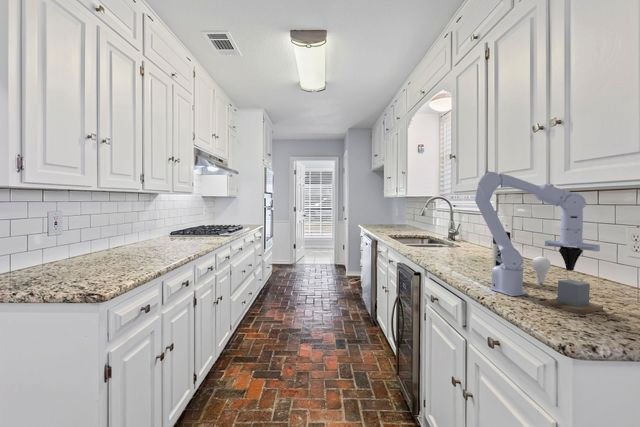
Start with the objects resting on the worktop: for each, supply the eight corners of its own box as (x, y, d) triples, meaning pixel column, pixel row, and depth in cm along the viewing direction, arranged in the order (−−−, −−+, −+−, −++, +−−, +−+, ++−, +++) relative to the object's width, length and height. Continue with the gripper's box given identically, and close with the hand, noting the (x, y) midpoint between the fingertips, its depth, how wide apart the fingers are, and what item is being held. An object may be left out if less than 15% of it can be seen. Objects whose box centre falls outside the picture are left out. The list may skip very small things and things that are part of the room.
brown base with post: (544, 304, 101) (545, 285, 101) (566, 300, 105) (567, 282, 105) (580, 314, 92) (580, 294, 92) (602, 309, 96) (603, 290, 96)
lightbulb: (532, 281, 130) (533, 254, 129) (550, 283, 126) (551, 256, 125) (530, 284, 125) (531, 256, 125) (549, 287, 121) (550, 258, 121)
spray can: (493, 280, 132) (495, 232, 131) (490, 276, 138) (491, 230, 137) (512, 281, 130) (513, 232, 129) (507, 277, 136) (508, 231, 136)
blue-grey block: (557, 301, 100) (558, 280, 100) (568, 299, 102) (569, 279, 102) (577, 306, 95) (577, 285, 94) (588, 304, 97) (589, 283, 96)
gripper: (541, 228, 109) (540, 267, 110) (594, 231, 97) (593, 275, 97) (550, 227, 113) (549, 265, 113) (602, 230, 101) (601, 273, 101)
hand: (570, 270), depth 106 cm, fingers closed
